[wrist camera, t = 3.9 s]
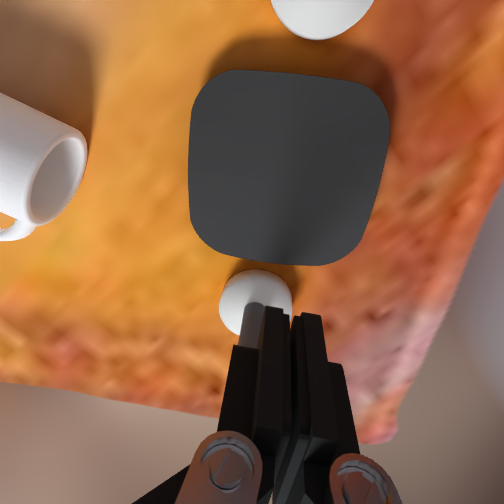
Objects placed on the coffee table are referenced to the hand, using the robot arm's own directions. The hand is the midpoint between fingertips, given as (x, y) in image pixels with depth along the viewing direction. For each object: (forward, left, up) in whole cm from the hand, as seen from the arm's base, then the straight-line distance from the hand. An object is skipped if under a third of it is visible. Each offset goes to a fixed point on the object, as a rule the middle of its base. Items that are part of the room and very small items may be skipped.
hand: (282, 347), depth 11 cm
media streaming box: (0, 0, -21) cm, 21 cm away
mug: (+3, -22, -21) cm, 30 cm away
